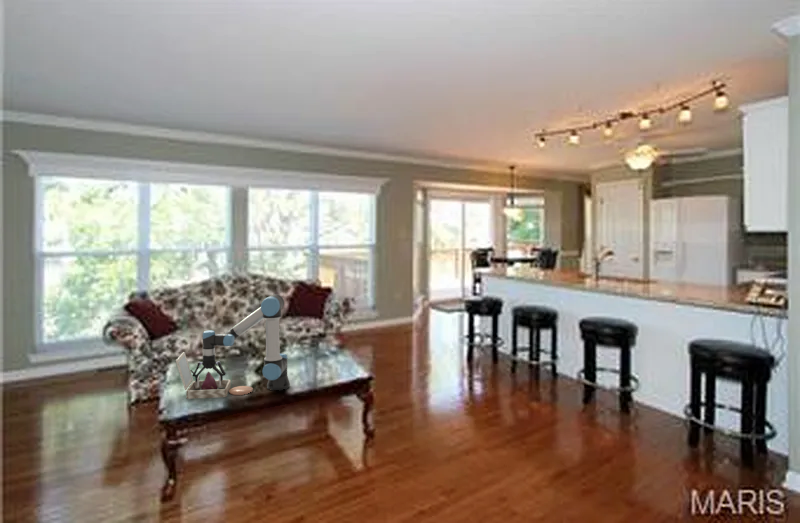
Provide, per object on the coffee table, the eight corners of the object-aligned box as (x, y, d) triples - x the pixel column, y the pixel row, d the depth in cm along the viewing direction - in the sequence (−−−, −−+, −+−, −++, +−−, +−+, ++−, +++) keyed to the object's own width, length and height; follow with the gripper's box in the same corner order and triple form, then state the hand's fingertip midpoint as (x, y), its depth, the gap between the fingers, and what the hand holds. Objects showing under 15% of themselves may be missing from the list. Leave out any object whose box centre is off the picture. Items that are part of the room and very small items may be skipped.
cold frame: (230, 386, 339) (230, 368, 338) (226, 397, 319) (226, 377, 318) (190, 388, 334) (190, 369, 333) (183, 398, 314) (183, 379, 313)
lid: (184, 351, 331) (183, 352, 331) (177, 360, 312) (175, 360, 312) (193, 379, 334) (191, 380, 334) (186, 389, 314) (185, 390, 314)
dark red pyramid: (201, 395, 330) (198, 373, 331) (218, 392, 333) (215, 369, 335) (200, 397, 320) (197, 373, 321) (217, 393, 323) (214, 370, 325)
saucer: (253, 387, 339) (253, 385, 339) (251, 394, 325) (251, 393, 325) (230, 387, 337) (230, 386, 336) (227, 395, 322) (227, 394, 322)
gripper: (229, 352, 331) (230, 383, 333) (189, 353, 326) (190, 385, 328) (228, 355, 324) (228, 387, 325) (187, 356, 319) (187, 388, 320)
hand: (209, 386), depth 326 cm, fingers open, 13 cm apart
